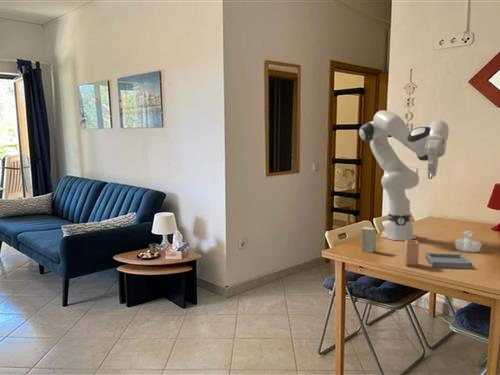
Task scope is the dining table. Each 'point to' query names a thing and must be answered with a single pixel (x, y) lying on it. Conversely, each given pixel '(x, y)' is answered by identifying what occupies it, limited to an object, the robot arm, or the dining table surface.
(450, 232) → the dining table surface
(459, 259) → the tray
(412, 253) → the cup
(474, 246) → the bust
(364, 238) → the skincare box
